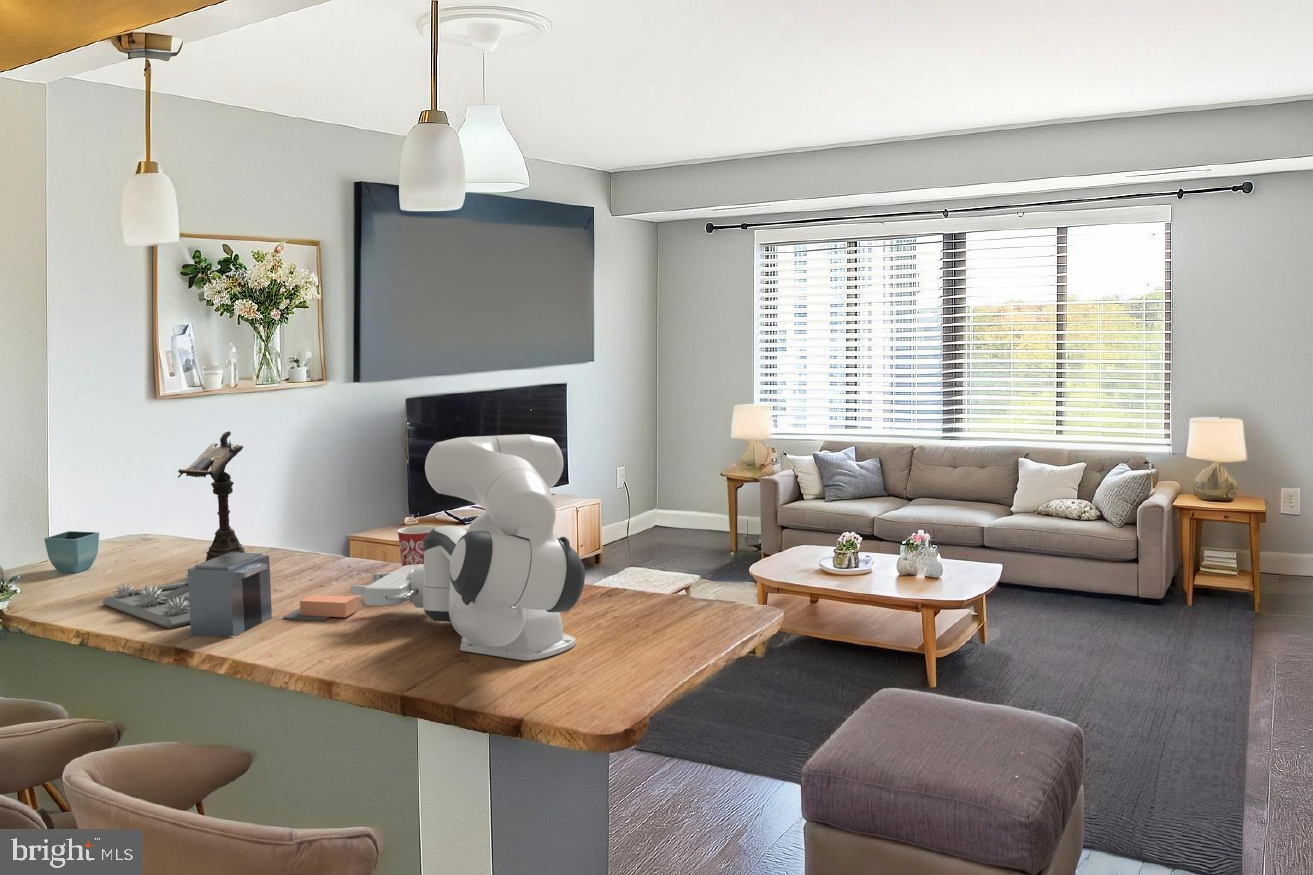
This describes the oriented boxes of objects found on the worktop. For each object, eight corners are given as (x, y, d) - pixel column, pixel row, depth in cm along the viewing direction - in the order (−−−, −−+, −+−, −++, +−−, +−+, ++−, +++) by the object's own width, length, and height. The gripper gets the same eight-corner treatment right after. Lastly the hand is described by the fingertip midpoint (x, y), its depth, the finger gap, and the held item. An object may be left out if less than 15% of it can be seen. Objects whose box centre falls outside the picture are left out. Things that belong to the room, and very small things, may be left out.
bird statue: (209, 586, 243) (201, 435, 239) (172, 580, 249) (164, 433, 246) (267, 572, 257) (261, 429, 253) (231, 566, 264) (224, 426, 260)
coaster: (344, 609, 223) (344, 607, 223) (324, 620, 214) (324, 618, 214) (305, 607, 225) (305, 605, 225) (283, 618, 216) (283, 617, 216)
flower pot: (78, 575, 255) (75, 538, 254) (45, 574, 256) (42, 538, 255) (102, 567, 263) (100, 531, 263) (70, 566, 265) (68, 531, 264)
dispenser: (277, 617, 217) (274, 552, 216) (239, 637, 203) (235, 568, 202) (231, 615, 219) (228, 550, 217) (191, 634, 205) (187, 566, 204)
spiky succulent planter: (267, 609, 225) (265, 577, 224) (167, 633, 208) (165, 597, 208) (197, 588, 244) (195, 557, 243) (100, 607, 227) (98, 575, 227)
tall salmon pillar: (312, 608, 222) (356, 610, 220) (300, 615, 217) (345, 617, 216) (311, 594, 222) (356, 596, 220) (299, 600, 217) (345, 602, 215)
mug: (390, 589, 240) (388, 530, 238) (418, 580, 248) (416, 524, 246) (432, 596, 234) (430, 536, 232) (459, 587, 241) (458, 529, 240)
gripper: (406, 615, 205) (339, 611, 207) (445, 589, 225) (384, 586, 227) (405, 583, 204) (338, 580, 206) (444, 559, 224) (383, 557, 226)
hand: (362, 583), depth 217 cm, fingers open, 8 cm apart
